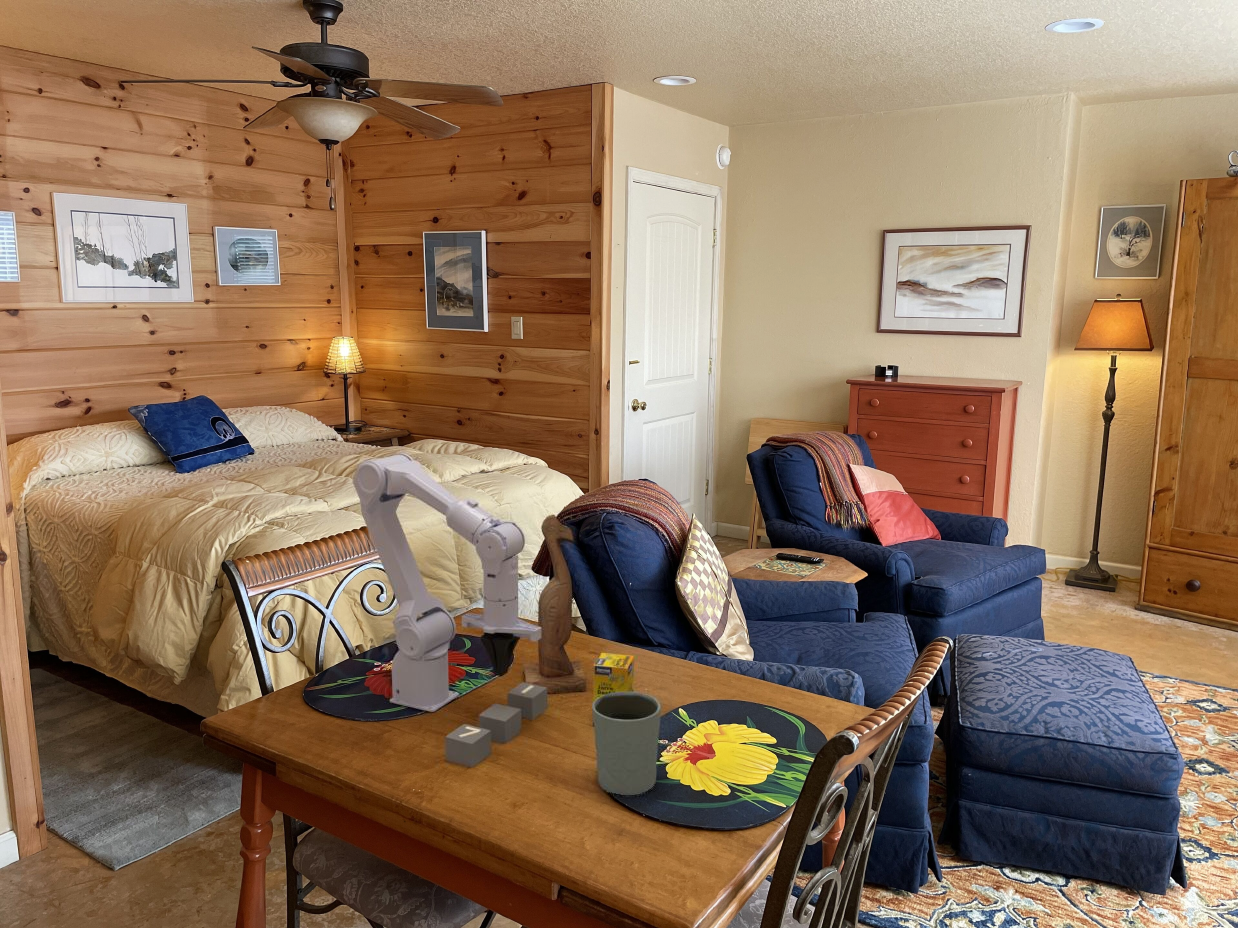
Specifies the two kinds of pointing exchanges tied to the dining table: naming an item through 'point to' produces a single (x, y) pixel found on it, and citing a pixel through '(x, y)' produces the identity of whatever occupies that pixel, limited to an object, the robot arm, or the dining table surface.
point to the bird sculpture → (555, 621)
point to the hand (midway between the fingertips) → (501, 673)
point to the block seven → (468, 745)
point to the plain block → (501, 722)
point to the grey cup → (626, 741)
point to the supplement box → (612, 674)
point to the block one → (528, 699)
